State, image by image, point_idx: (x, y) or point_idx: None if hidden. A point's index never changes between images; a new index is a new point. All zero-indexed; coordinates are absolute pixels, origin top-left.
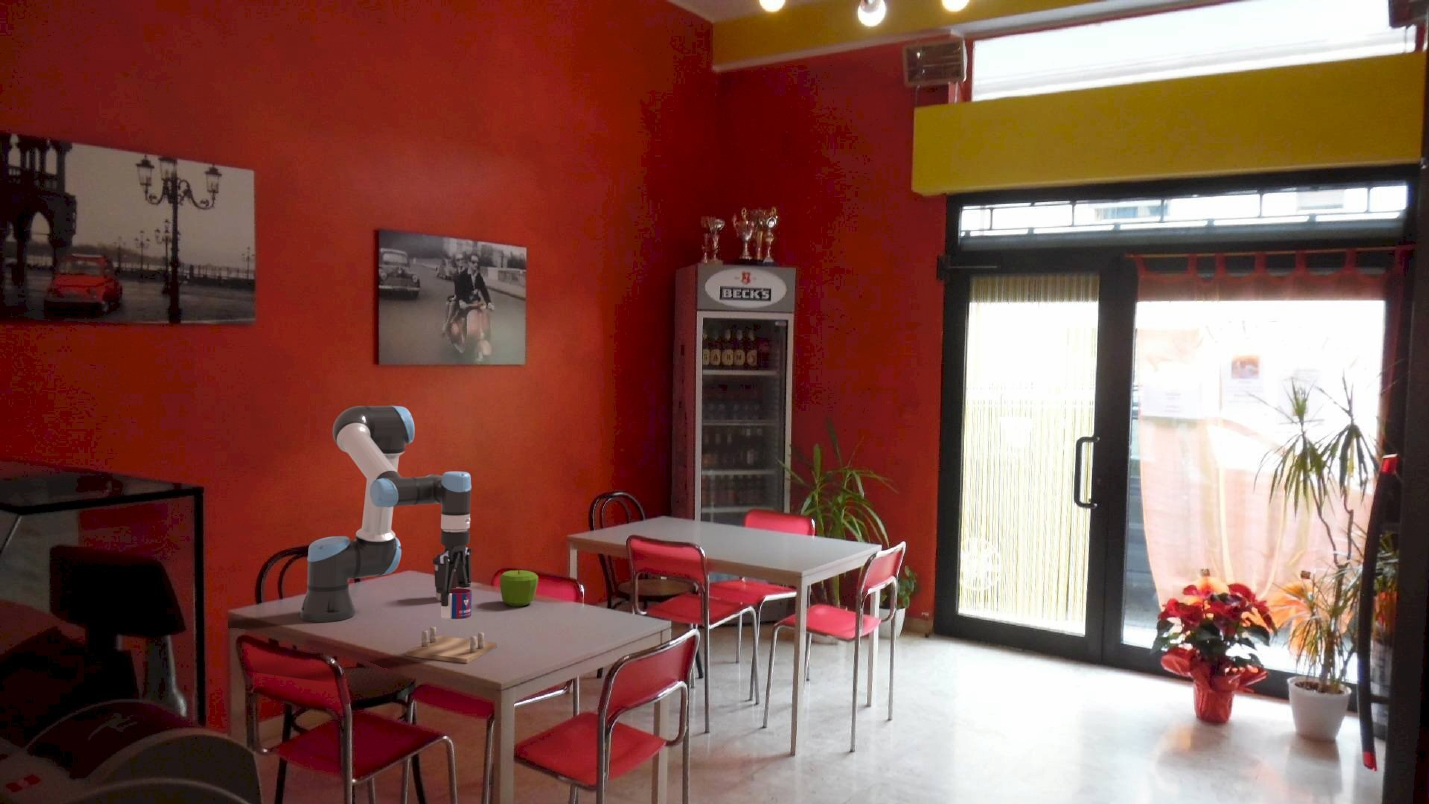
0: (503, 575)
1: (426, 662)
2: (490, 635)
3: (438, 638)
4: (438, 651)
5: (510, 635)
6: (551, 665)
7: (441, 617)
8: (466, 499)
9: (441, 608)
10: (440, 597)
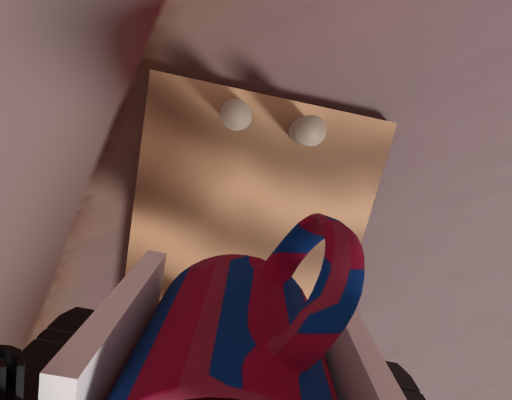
0: None
1: (100, 180)
2: (469, 289)
3: (357, 134)
4: (178, 198)
5: (472, 351)
6: None
7: (148, 253)
8: None
9: (122, 281)
10: (328, 218)
